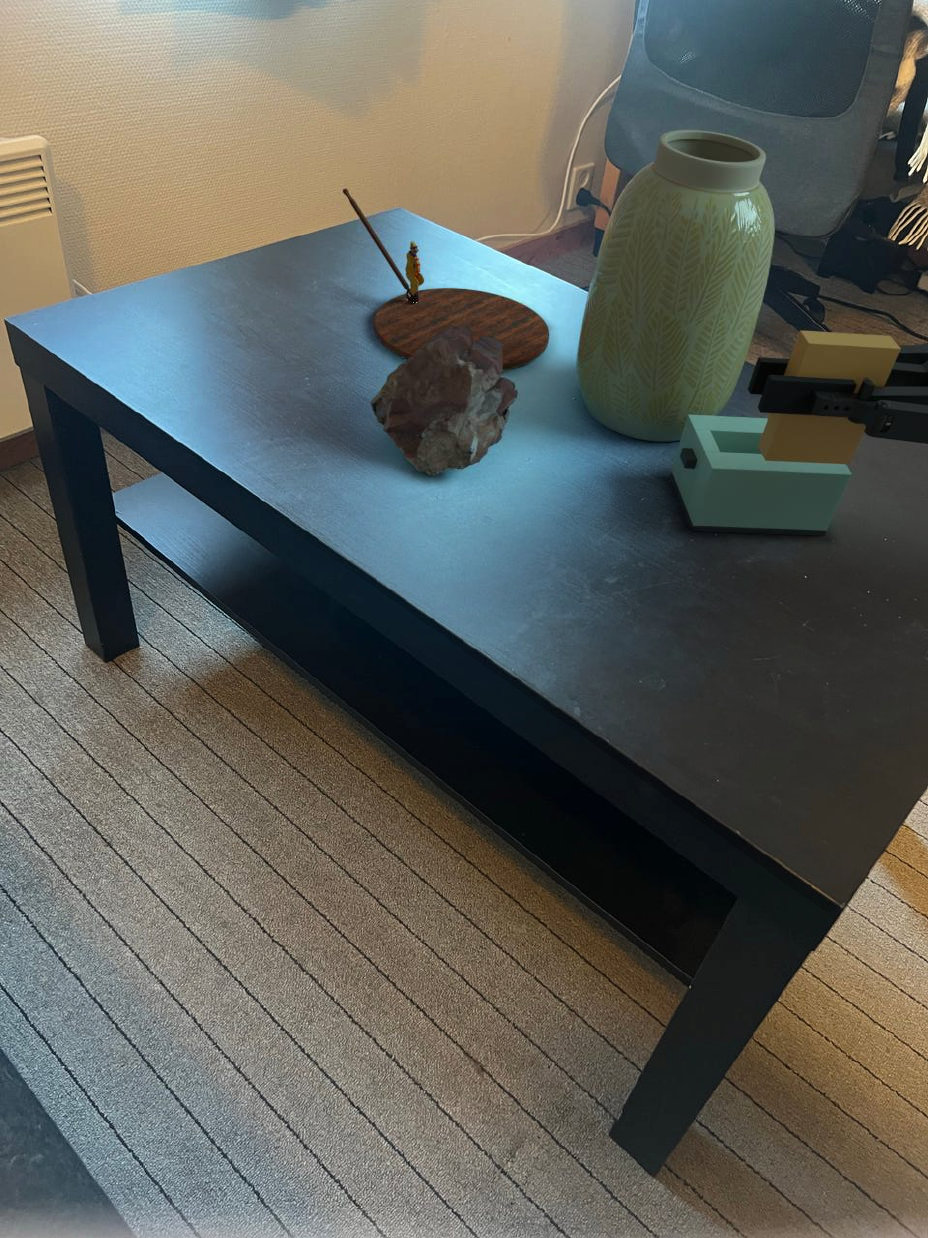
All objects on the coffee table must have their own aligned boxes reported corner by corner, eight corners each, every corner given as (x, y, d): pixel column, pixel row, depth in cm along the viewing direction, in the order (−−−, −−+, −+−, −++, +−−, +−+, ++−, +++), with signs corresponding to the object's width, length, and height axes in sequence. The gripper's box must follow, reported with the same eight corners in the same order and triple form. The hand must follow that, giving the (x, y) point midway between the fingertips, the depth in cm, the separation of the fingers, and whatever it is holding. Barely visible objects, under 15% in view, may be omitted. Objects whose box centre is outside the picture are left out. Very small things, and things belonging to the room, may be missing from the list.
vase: (614, 355, 110) (669, 106, 92) (748, 409, 104) (835, 152, 86) (538, 410, 100) (583, 139, 81) (682, 473, 93) (766, 194, 75)
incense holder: (476, 394, 101) (488, 295, 93) (283, 301, 113) (279, 207, 105) (581, 335, 114) (598, 244, 106) (397, 257, 126) (401, 170, 118)
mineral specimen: (385, 490, 95) (453, 390, 101) (488, 501, 87) (555, 393, 94) (330, 402, 86) (409, 300, 93) (439, 407, 79) (516, 295, 85)
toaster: (794, 480, 94) (818, 420, 89) (824, 536, 88) (852, 474, 83) (660, 475, 93) (677, 413, 88) (680, 530, 86) (700, 467, 81)
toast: (840, 450, 75) (890, 335, 68) (849, 464, 74) (901, 348, 67) (757, 446, 74) (799, 330, 68) (764, 460, 73) (808, 342, 66)
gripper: (1076, 497, 69) (773, 484, 67) (983, 393, 80) (719, 379, 77) (1135, 408, 64) (809, 391, 61) (1027, 310, 75) (746, 292, 72)
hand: (759, 384), depth 69 cm, fingers closed on toast, 2 cm apart
